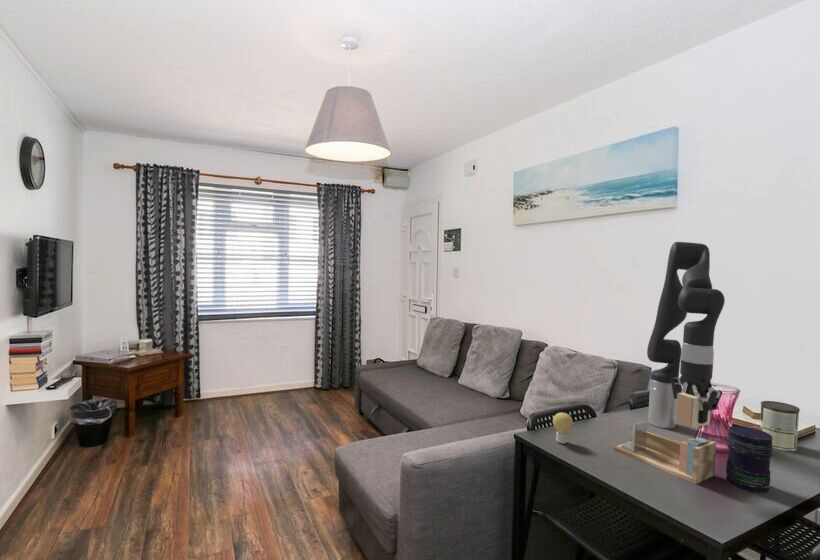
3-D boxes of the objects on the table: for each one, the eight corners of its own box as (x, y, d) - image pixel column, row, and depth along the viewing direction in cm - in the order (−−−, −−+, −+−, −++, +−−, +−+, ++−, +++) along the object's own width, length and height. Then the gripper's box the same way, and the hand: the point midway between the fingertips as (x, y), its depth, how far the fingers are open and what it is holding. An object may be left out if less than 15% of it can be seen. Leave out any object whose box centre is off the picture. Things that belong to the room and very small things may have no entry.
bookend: (633, 443, 144) (634, 417, 144) (646, 448, 141) (647, 421, 140) (621, 447, 141) (622, 420, 141) (633, 452, 137) (635, 424, 137)
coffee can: (751, 437, 156) (754, 399, 155) (783, 440, 154) (786, 401, 154) (770, 449, 146) (773, 408, 145) (805, 452, 144) (807, 411, 144)
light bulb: (567, 447, 142) (568, 417, 141) (548, 442, 146) (550, 412, 146) (574, 442, 146) (576, 413, 146) (556, 436, 151) (558, 408, 150)
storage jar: (730, 472, 128) (733, 423, 127) (772, 486, 120) (776, 433, 120) (721, 483, 121) (724, 431, 121) (765, 498, 114) (769, 442, 113)
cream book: (694, 418, 124) (696, 391, 123) (709, 424, 119) (711, 396, 119) (675, 421, 121) (677, 393, 121) (690, 427, 117) (692, 398, 117)
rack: (632, 443, 147) (634, 413, 146) (714, 475, 125) (716, 440, 125) (613, 449, 141) (615, 418, 141) (695, 484, 120) (697, 447, 120)
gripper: (732, 365, 114) (728, 428, 115) (683, 353, 127) (679, 409, 128) (712, 367, 112) (707, 431, 113) (664, 354, 125) (660, 411, 126)
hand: (692, 419), depth 121 cm, fingers closed on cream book, 4 cm apart
